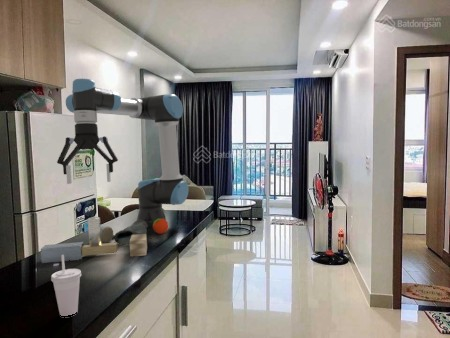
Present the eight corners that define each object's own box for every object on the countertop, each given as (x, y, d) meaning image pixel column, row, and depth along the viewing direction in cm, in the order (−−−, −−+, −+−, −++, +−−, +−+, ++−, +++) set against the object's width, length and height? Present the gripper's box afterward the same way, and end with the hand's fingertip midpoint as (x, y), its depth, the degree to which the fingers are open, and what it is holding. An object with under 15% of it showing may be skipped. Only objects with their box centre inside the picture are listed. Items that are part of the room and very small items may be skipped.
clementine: (159, 236, 147) (158, 220, 147) (148, 235, 151) (147, 219, 150) (171, 232, 154) (171, 217, 153) (160, 231, 158) (159, 216, 157)
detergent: (140, 246, 133) (158, 229, 158) (137, 228, 132) (156, 215, 157) (108, 249, 134) (131, 232, 159) (106, 232, 134) (129, 217, 158)
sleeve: (41, 263, 117) (40, 248, 116) (46, 258, 122) (45, 244, 121) (81, 259, 119) (80, 245, 119) (84, 255, 124) (83, 241, 124)
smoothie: (60, 308, 82) (56, 251, 81) (87, 306, 82) (83, 250, 81) (48, 321, 75) (44, 260, 75) (78, 319, 76) (74, 258, 75)
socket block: (130, 256, 120) (129, 241, 120) (132, 249, 129) (131, 234, 129) (146, 255, 121) (145, 239, 121) (147, 248, 130) (146, 233, 130)
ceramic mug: (103, 245, 136) (102, 226, 136) (87, 244, 139) (86, 225, 139) (120, 239, 146) (119, 221, 146) (105, 238, 149) (104, 220, 149)
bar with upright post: (48, 259, 117) (45, 222, 117) (51, 255, 121) (49, 220, 121) (116, 253, 122) (114, 217, 121) (117, 249, 126) (116, 215, 125)
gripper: (44, 123, 114) (48, 185, 115) (120, 121, 118) (123, 181, 119) (52, 125, 122) (55, 183, 123) (123, 123, 126) (126, 180, 127)
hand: (89, 182), depth 121 cm, fingers open, 13 cm apart
